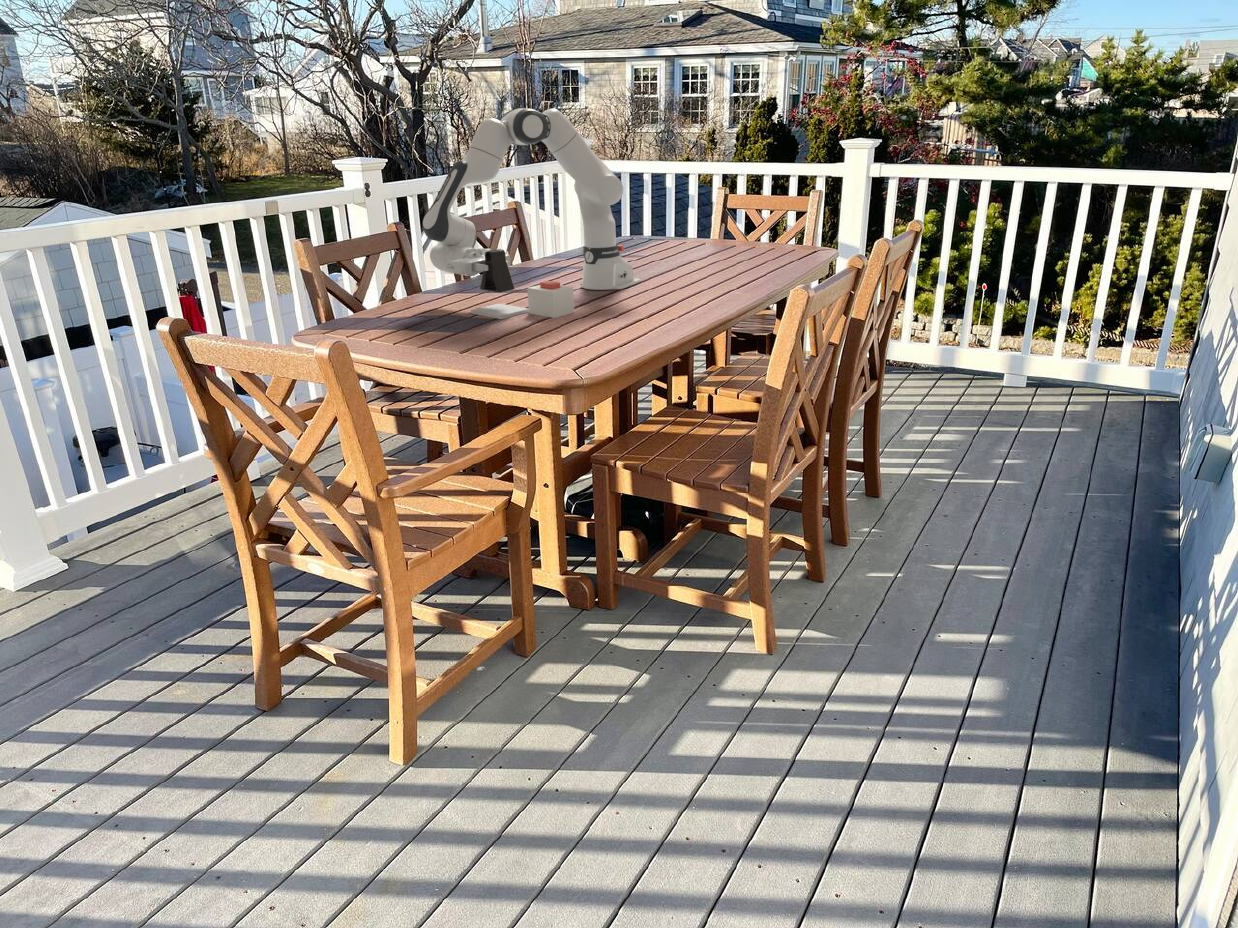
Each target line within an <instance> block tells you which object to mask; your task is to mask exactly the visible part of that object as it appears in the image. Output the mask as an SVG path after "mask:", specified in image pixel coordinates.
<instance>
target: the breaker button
mask: <svg viewBox="0 0 1238 928" xmlns="http://www.w3.org/2000/svg"><path fill="white" fill-rule="evenodd" d="M539 285H540V288H545V289H551V290H553V289H557V288H560V285H561V282H560V281H559V282H558V281H552V280H546V281H541V282H540V284H539Z"/></svg>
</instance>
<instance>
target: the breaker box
mask: <svg viewBox="0 0 1238 928" xmlns="http://www.w3.org/2000/svg"><path fill="white" fill-rule="evenodd" d="M574 296H575V295H574V287H573V286H568V285H562V284H560V288H557V289H553V290H551V289H545V288H540V284H538V285H534V286H529V287H527V304H528V309H529V312H528V314H531V315H536V316H541V317H546V318H553V319H555V318H559V317H562V316H567V315H570V314H573V313H575V301H574V298H575V297H574Z"/></svg>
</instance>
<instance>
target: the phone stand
mask: <svg viewBox="0 0 1238 928" xmlns="http://www.w3.org/2000/svg"><path fill="white" fill-rule="evenodd" d="M505 253H506V251H505V249H501V248H499V249H494V250H493V249H492V250H491V251H488V252H486V253H485V264H488V265H490V268H491V270H489V271H482V277H481V282H480V288H479V289H480V290H481V291H488V292H493V293H494V292H495V293H504V292H505V293H506V292H509V291H513V290H515V287H514V282H513V280H512V277H511V272H510V270H509V266H507V263H506V259H505Z"/></svg>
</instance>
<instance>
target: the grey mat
mask: <svg viewBox="0 0 1238 928" xmlns="http://www.w3.org/2000/svg"><path fill="white" fill-rule="evenodd" d="M525 313H526V314H527V313H529V307H528V308H527V307H522V306H516V305H510V304H504V303H500V302H498V303H494V304H491V305H486V306H481V307H478V308H474V309H473V308H472V309H470V314H473V315H478V316H482V317H487V318H494V319H498V320H503V319H507V318H511V317H514V316H518V315H522V314H523V315H524V314H525Z"/></svg>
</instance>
